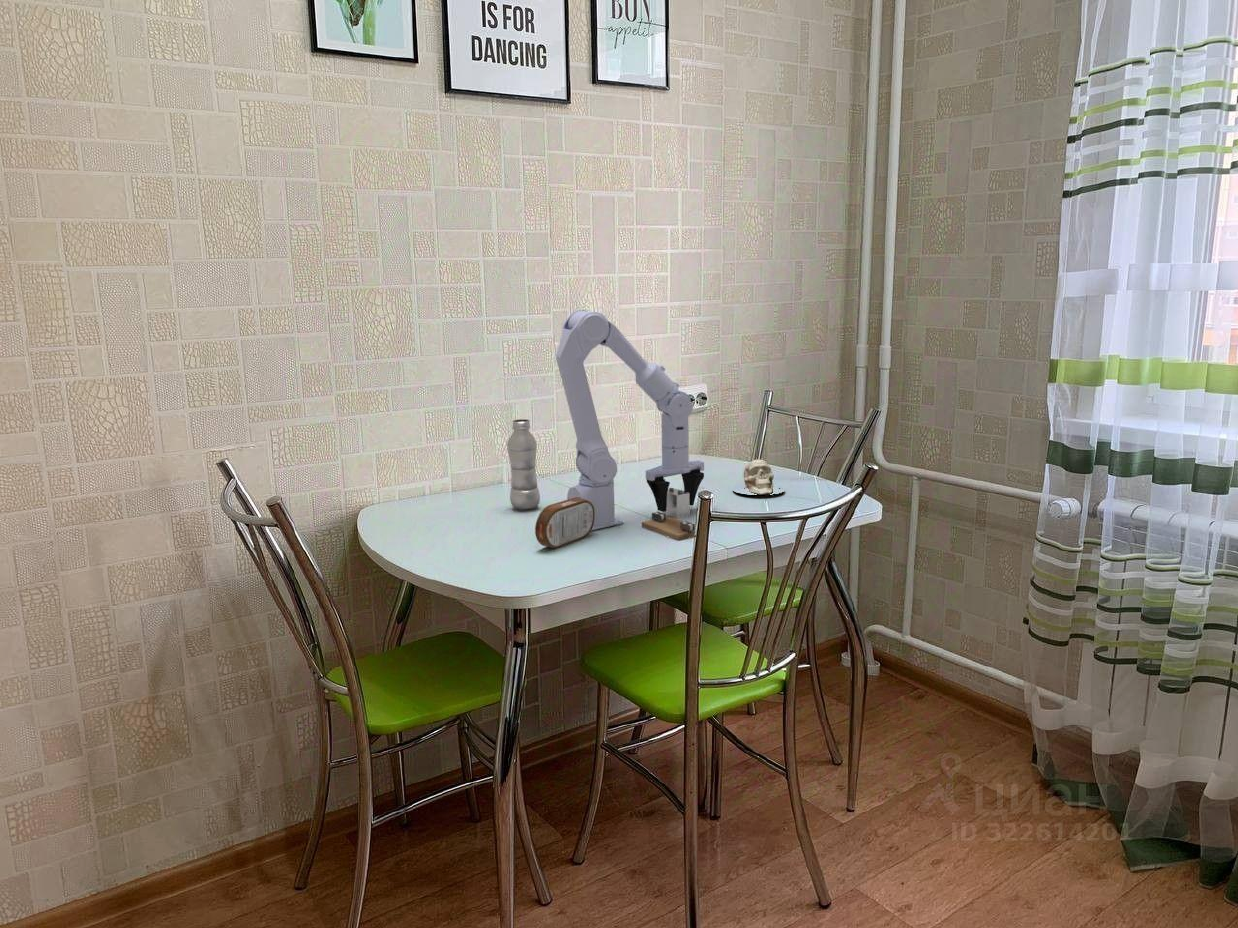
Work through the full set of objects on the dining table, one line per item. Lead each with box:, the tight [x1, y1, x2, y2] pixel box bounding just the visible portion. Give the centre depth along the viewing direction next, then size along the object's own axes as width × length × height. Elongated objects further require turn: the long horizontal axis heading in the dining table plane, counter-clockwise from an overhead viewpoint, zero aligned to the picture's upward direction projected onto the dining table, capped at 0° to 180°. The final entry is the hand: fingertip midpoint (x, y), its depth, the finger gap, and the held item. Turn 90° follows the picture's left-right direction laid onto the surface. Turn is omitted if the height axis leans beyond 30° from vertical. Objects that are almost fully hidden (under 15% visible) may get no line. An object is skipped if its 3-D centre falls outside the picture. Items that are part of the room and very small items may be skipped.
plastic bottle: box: [506, 418, 541, 511], centre depth 203 cm, size 6×7×20 cm
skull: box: [743, 459, 775, 495], centre depth 214 cm, size 12×12×8 cm
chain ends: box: [651, 511, 696, 532], centre depth 187 cm, size 2×12×2 cm, turn 35°
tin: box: [534, 497, 595, 549], centre depth 180 cm, size 15×3×8 cm, turn 141°
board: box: [641, 515, 697, 541], centre depth 187 cm, size 7×12×1 cm, turn 35°
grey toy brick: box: [661, 487, 691, 519], centre depth 198 cm, size 4×5×6 cm
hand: (675, 507), depth 198 cm, fingers open, 7 cm apart
